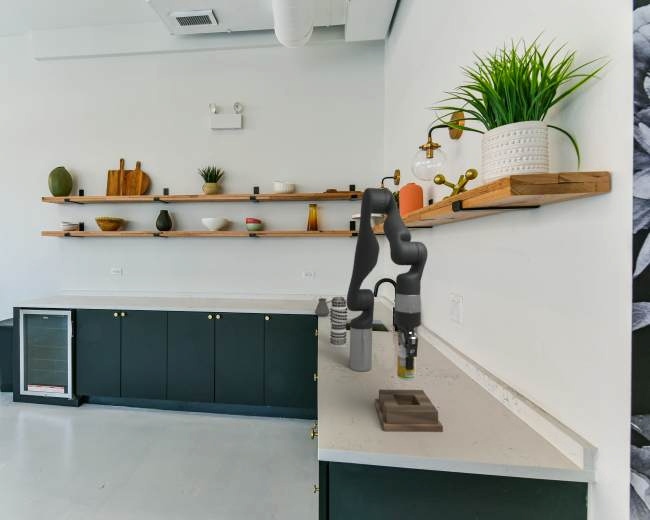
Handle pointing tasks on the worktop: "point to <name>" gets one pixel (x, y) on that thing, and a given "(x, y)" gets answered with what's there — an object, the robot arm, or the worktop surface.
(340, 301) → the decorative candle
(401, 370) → the supplement bottle
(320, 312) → the coffee pot
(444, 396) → the worktop surface
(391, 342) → the worktop surface
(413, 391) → the bottle dock
